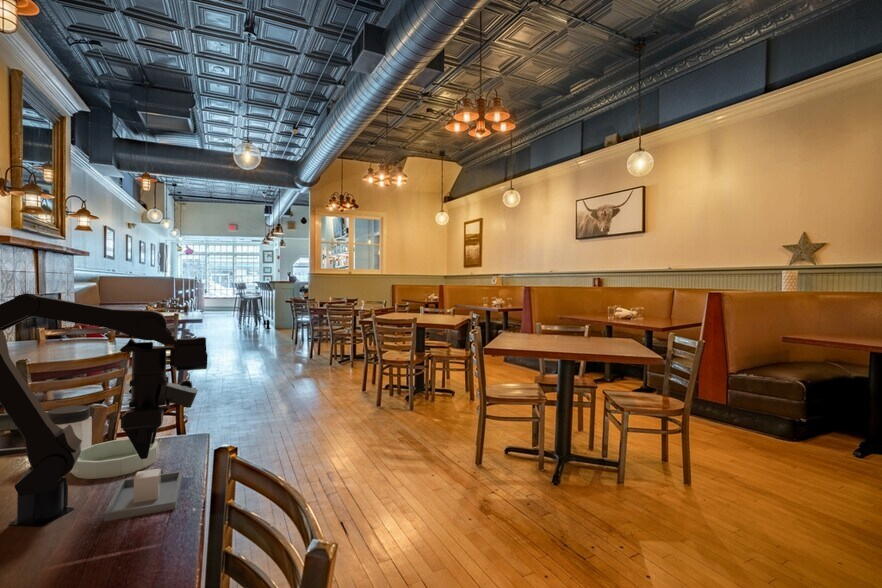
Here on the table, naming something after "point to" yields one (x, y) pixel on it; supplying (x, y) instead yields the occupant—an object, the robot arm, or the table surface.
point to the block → (147, 485)
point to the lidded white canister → (74, 421)
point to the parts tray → (126, 508)
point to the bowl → (112, 459)
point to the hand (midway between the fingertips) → (147, 450)
